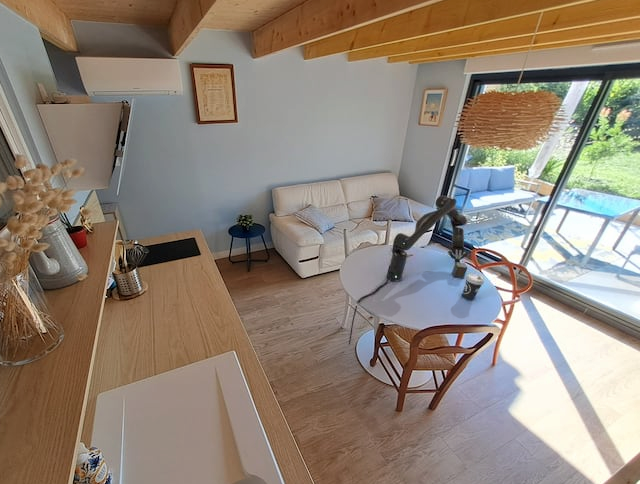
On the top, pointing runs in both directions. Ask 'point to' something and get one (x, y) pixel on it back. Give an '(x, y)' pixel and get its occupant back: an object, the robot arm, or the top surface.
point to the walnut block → (459, 270)
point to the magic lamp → (407, 255)
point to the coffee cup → (472, 286)
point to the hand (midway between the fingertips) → (457, 264)
